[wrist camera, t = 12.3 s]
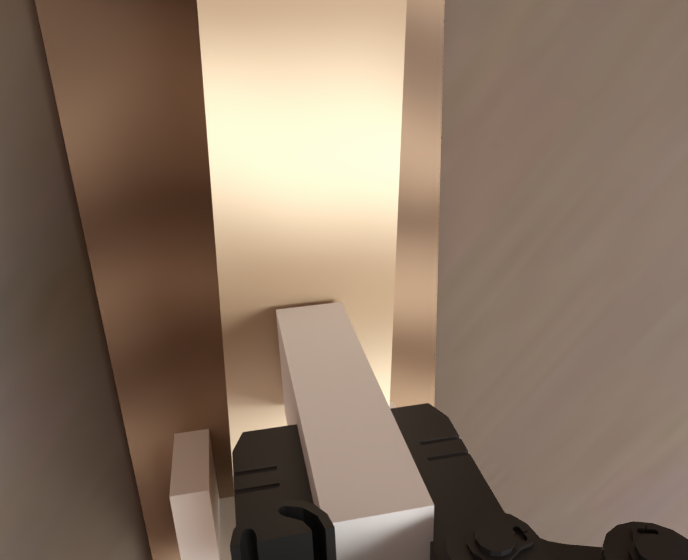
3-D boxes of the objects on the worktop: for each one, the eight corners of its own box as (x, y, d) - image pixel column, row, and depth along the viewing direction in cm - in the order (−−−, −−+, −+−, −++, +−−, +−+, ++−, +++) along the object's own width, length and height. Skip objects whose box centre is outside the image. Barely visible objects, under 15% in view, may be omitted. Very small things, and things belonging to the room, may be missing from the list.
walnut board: (422, 511, 34) (430, 532, 33) (159, 558, 32) (157, 582, 31) (437, -354, 20) (454, -380, 19) (-33, -382, 18) (-53, -413, 16)
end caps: (393, 493, 32) (417, 556, 28) (190, 528, 30) (188, 599, 26) (390, -256, 20) (430, -317, 16) (53, -267, 18) (13, -337, 14)
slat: (321, 459, 30) (377, 681, 20) (236, 469, 29) (250, 706, 19) (317, -136, 21) (418, -277, 11) (191, -142, 20) (173, -300, 10)
